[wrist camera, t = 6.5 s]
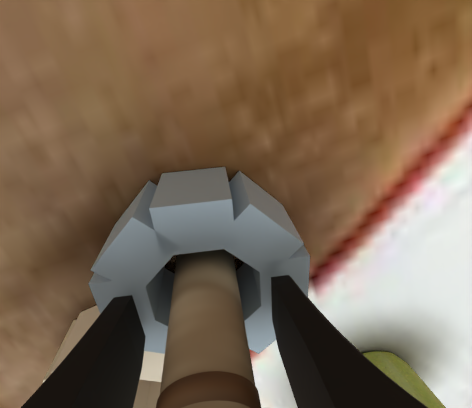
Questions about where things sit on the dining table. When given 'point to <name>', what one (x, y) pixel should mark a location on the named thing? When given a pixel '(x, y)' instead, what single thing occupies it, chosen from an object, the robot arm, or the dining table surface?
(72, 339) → the cream bead
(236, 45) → the dining table surface
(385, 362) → the plant pot
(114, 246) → the blue bead
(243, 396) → the brown wooden peg
